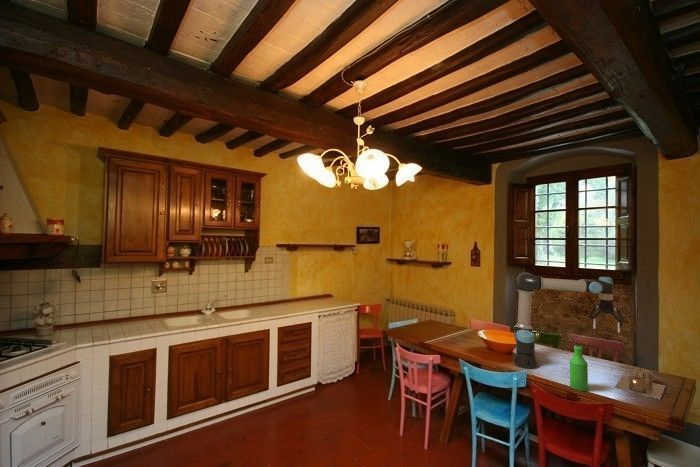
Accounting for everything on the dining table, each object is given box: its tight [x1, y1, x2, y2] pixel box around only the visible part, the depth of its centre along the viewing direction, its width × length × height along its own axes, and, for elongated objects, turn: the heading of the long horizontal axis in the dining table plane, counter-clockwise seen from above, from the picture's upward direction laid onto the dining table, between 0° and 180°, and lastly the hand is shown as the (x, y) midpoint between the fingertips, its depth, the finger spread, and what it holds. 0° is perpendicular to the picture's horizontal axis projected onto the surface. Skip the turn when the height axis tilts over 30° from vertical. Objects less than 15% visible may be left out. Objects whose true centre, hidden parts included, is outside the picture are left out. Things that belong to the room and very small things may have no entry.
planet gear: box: [632, 367, 653, 385], centre depth 205 cm, size 9×9×7 cm
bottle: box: [569, 345, 589, 392], centre depth 198 cm, size 9×9×25 cm
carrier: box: [614, 375, 666, 400], centre depth 199 cm, size 25×20×8 cm
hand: (606, 330), depth 228 cm, fingers open, 13 cm apart
